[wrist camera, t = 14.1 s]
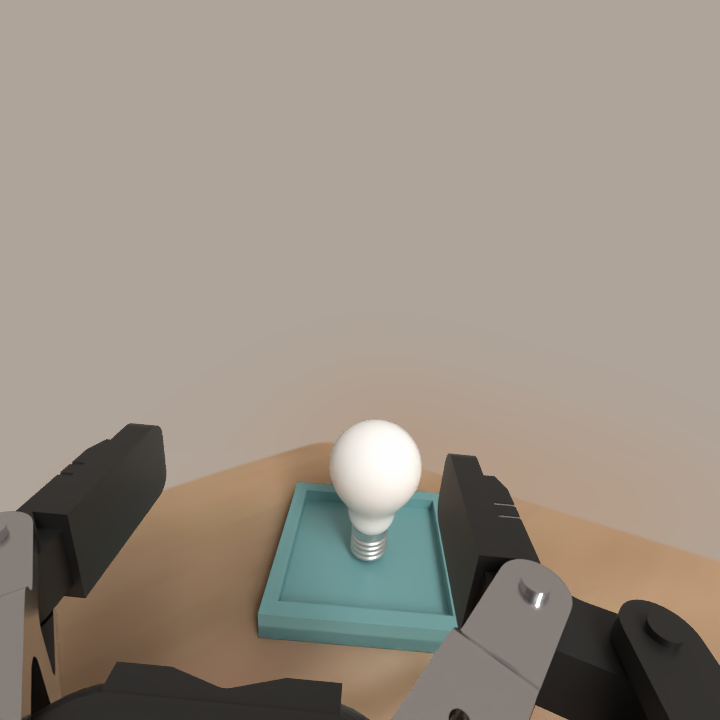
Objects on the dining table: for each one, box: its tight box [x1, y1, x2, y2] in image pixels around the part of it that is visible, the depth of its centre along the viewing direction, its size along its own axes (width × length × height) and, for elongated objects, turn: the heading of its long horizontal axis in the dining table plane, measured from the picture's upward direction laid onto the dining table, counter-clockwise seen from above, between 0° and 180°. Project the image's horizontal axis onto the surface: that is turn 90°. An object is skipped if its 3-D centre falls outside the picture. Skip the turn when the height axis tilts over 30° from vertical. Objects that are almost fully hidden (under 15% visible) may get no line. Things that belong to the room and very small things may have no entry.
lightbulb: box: [329, 419, 422, 561], centre depth 30 cm, size 6×6×11 cm
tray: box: [258, 482, 458, 653], centre depth 32 cm, size 13×13×2 cm
